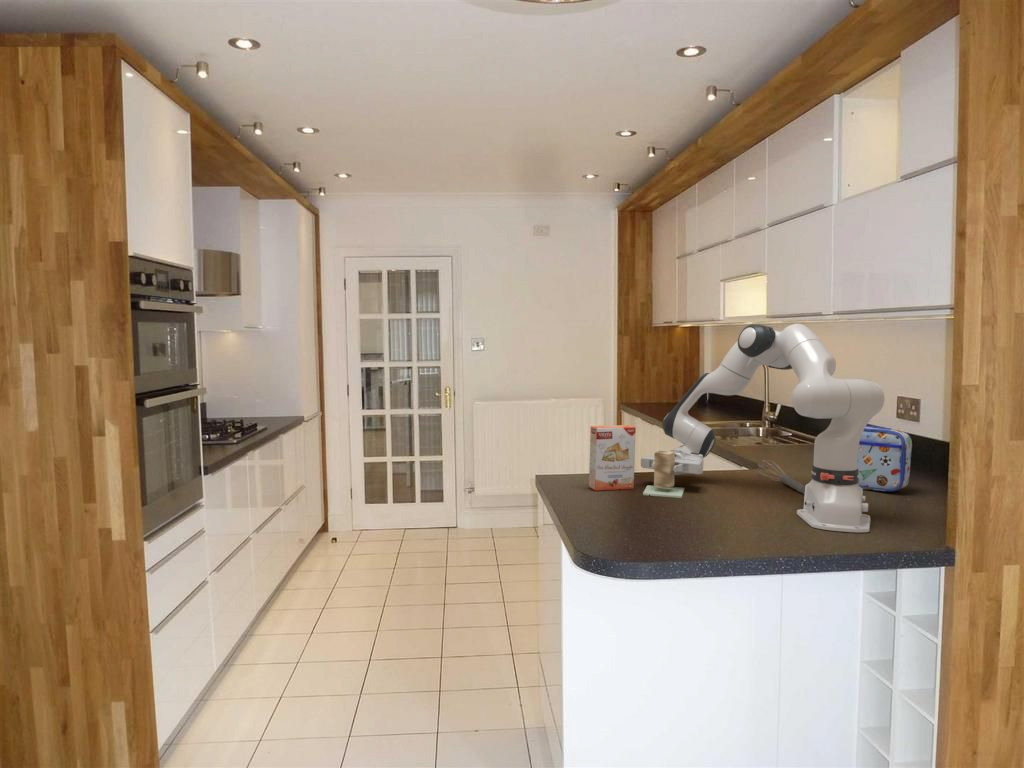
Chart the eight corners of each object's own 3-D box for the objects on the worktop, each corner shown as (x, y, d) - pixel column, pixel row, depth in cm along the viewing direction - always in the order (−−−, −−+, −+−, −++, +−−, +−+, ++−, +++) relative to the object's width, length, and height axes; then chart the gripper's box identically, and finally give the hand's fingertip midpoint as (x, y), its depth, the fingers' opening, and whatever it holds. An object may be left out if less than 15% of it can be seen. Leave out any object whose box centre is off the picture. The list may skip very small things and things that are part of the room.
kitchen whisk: (800, 497, 216) (801, 477, 216) (753, 475, 250) (754, 458, 249) (819, 496, 217) (819, 477, 216) (769, 475, 250) (770, 458, 250)
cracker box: (595, 491, 221) (596, 427, 219) (588, 487, 227) (589, 425, 225) (634, 489, 224) (636, 426, 223) (627, 485, 230) (628, 424, 229)
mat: (681, 498, 213) (681, 496, 213) (642, 495, 216) (642, 493, 216) (684, 489, 224) (684, 487, 224) (647, 487, 228) (647, 485, 228)
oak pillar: (674, 485, 221) (675, 452, 220) (668, 488, 217) (669, 454, 216) (659, 483, 224) (660, 450, 223) (653, 486, 220) (654, 452, 219)
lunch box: (814, 482, 236) (817, 419, 235) (827, 478, 243) (829, 417, 242) (902, 497, 216) (905, 428, 215) (912, 491, 223) (916, 425, 222)
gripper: (649, 449, 236) (633, 455, 224) (707, 455, 225) (694, 461, 213) (648, 467, 237) (633, 474, 225) (707, 473, 225) (694, 481, 214)
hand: (663, 468), depth 219 cm, fingers closed on oak pillar, 5 cm apart
